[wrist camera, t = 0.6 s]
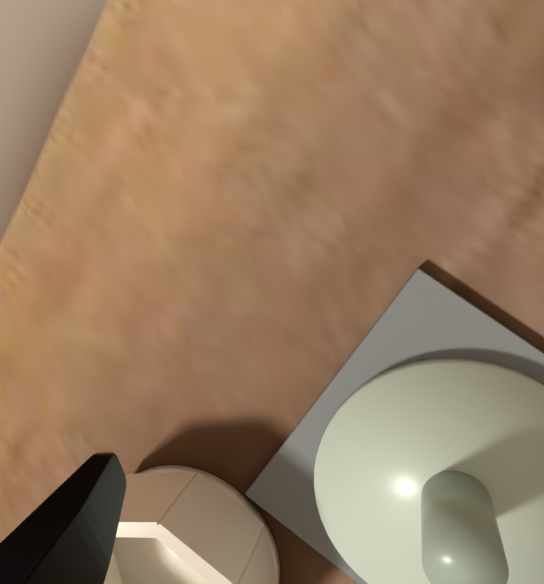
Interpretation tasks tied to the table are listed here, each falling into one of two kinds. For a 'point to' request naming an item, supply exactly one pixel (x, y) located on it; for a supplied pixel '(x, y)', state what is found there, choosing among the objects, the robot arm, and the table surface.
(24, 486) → the table surface
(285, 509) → the mat
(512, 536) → the lid
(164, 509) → the bowl
